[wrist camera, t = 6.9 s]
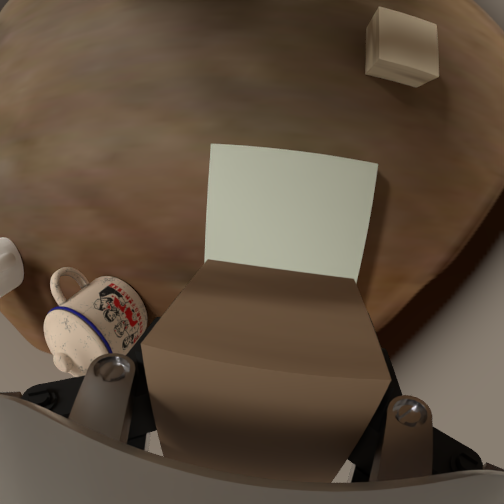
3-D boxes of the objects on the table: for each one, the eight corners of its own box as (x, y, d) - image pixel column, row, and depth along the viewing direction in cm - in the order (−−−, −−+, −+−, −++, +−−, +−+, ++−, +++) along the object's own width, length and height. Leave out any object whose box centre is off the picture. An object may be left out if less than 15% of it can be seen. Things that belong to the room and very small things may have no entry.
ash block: (366, 28, 19) (378, 6, 15) (416, 42, 19) (436, 24, 14) (364, 74, 21) (378, 58, 16) (416, 87, 20) (438, 76, 16)
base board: (220, 144, 25) (211, 143, 22) (369, 162, 23) (378, 163, 21) (212, 280, 29) (203, 294, 26) (344, 298, 28) (348, 313, 25)
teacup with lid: (164, 330, 32) (116, 399, 21) (114, 346, 35) (66, 403, 24) (110, 237, 29) (36, 280, 18) (66, 267, 32) (1, 308, 21)
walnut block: (208, 259, 10) (140, 343, 5) (354, 278, 10) (391, 379, 5) (205, 369, 12) (165, 463, 7) (323, 386, 11) (326, 488, 7)
